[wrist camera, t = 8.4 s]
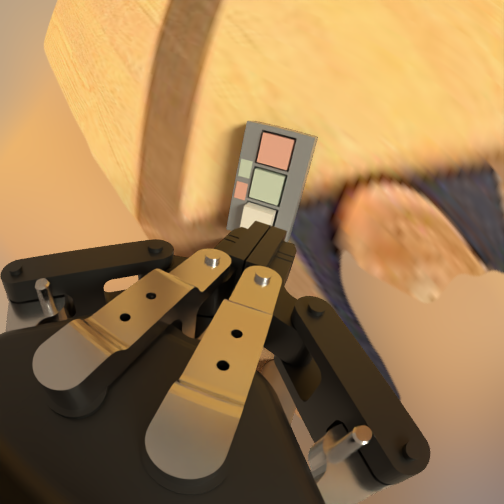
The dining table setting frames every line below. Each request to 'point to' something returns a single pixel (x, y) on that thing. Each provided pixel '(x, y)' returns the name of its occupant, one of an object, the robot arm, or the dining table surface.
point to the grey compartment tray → (249, 163)
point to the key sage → (267, 185)
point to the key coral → (276, 150)
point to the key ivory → (256, 215)
